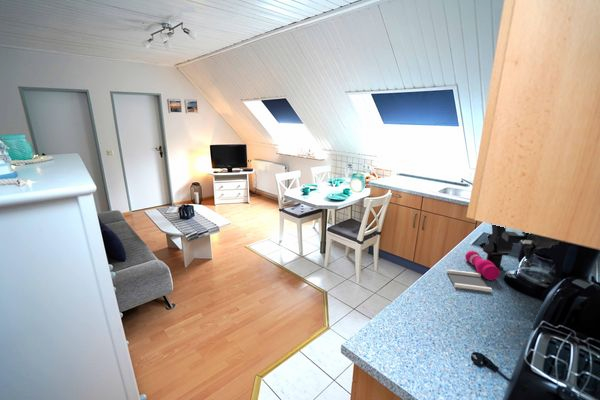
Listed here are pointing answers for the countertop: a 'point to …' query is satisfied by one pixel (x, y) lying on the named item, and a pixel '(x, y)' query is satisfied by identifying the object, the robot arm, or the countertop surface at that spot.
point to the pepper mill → (482, 265)
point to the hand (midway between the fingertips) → (527, 259)
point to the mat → (468, 281)
